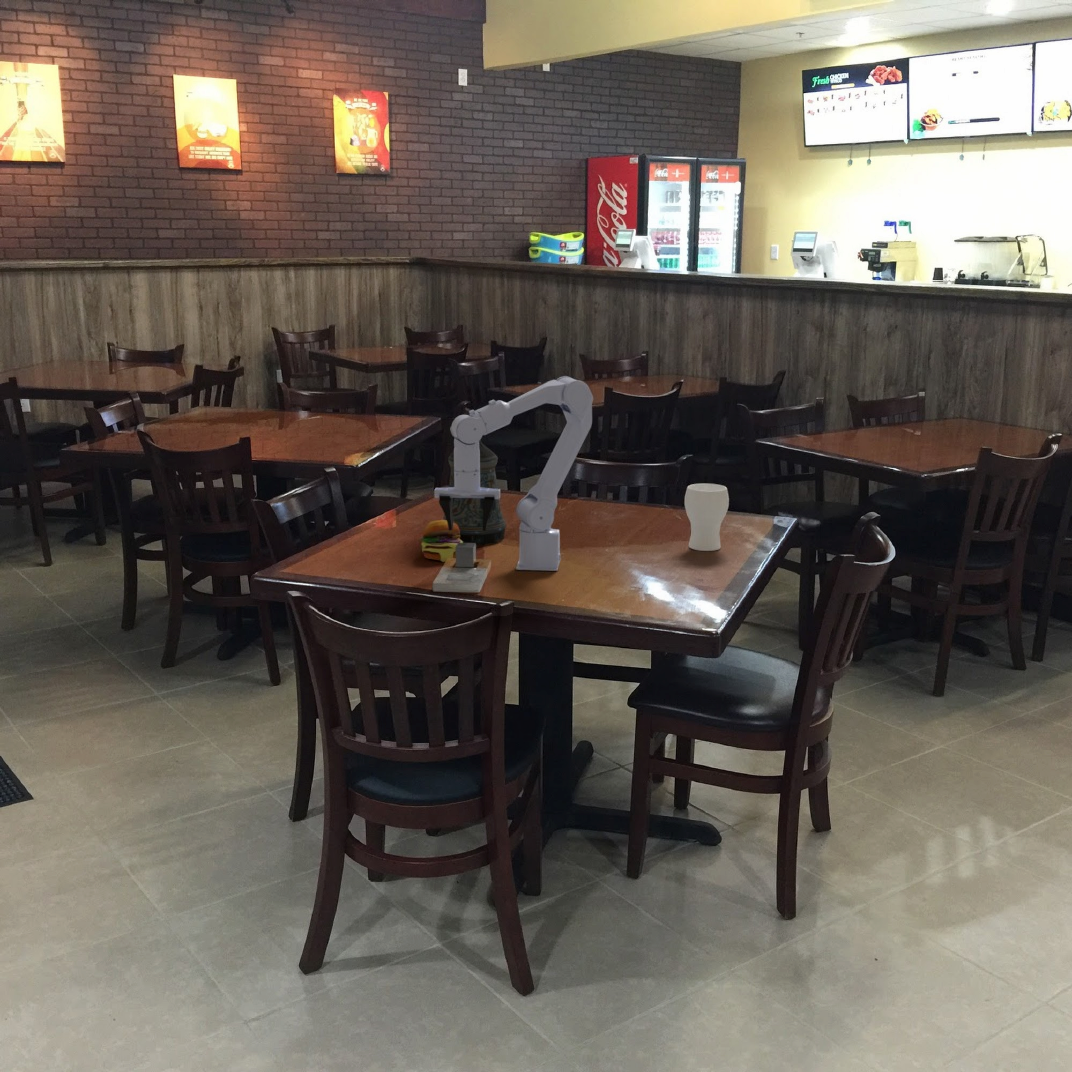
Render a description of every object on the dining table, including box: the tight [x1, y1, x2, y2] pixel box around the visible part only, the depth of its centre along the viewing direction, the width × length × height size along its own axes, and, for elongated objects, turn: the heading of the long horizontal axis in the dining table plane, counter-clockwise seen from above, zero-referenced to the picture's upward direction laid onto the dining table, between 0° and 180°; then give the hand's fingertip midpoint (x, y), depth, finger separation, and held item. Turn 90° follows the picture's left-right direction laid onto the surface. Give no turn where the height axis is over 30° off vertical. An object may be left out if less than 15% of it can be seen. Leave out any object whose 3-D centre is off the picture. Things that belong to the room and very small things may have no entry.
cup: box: [684, 483, 730, 552], centre depth 275 cm, size 11×11×15 cm
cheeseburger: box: [420, 519, 463, 563], centre depth 268 cm, size 10×11×10 cm
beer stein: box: [442, 438, 507, 546], centre depth 284 cm, size 16×19×25 cm
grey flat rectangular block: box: [432, 558, 492, 594], centre depth 250 cm, size 10×20×2 cm, turn 175°
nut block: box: [455, 543, 477, 568], centre depth 254 cm, size 4×4×6 cm
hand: (467, 529), depth 253 cm, fingers open, 7 cm apart
